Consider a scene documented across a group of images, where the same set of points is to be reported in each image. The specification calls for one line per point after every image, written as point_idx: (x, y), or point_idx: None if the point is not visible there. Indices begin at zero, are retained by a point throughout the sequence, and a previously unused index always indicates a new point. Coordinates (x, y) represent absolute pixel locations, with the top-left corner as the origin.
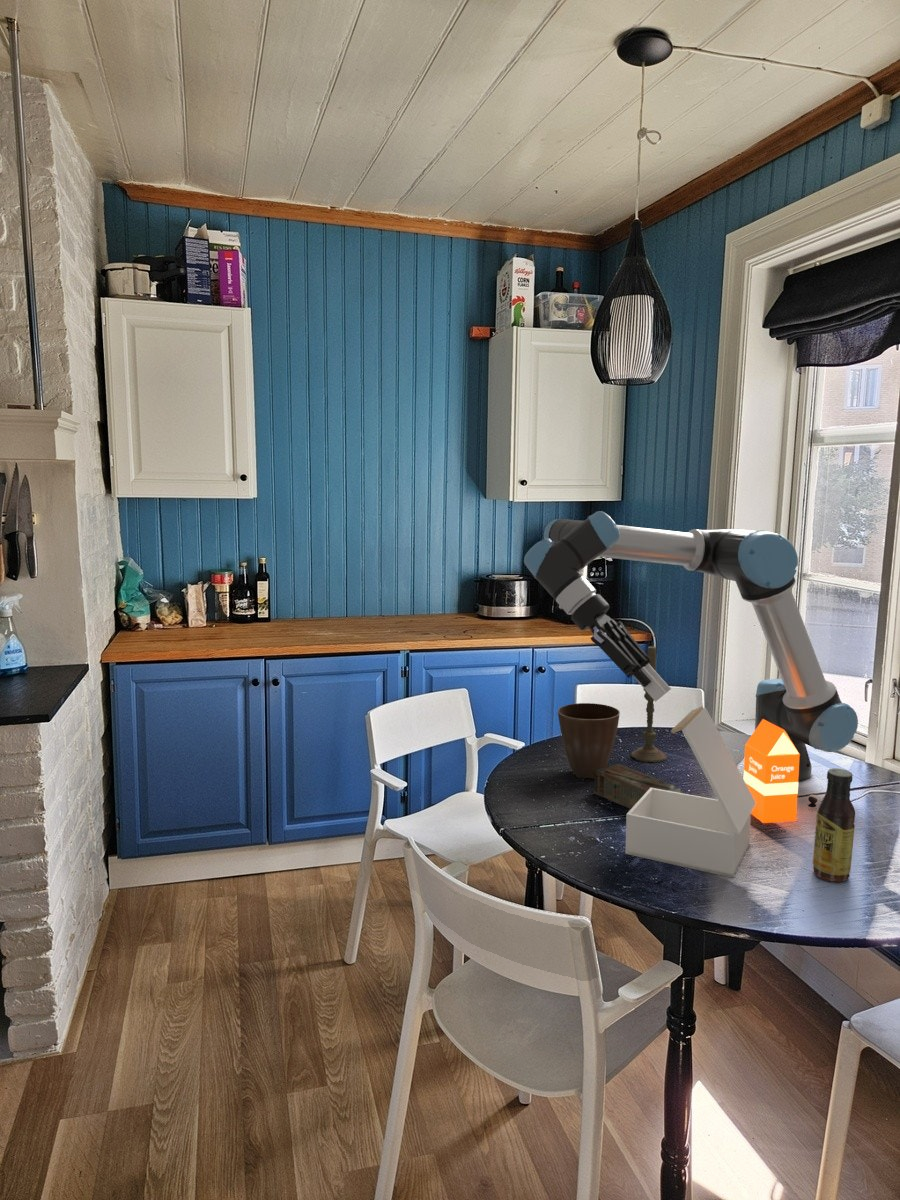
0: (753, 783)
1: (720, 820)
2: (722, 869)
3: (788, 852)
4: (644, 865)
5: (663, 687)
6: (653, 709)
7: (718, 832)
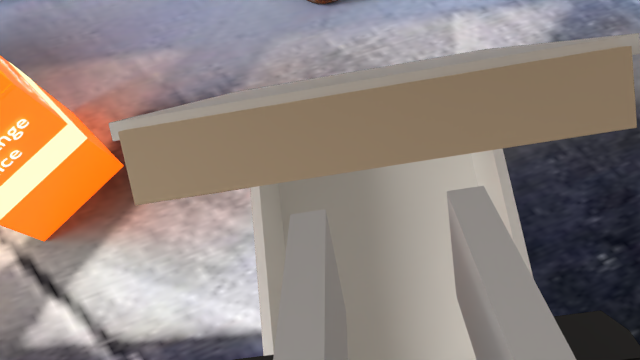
0: (32, 177)
1: (271, 199)
2: None
3: (261, 70)
4: (556, 311)
5: (332, 271)
6: None
7: None
